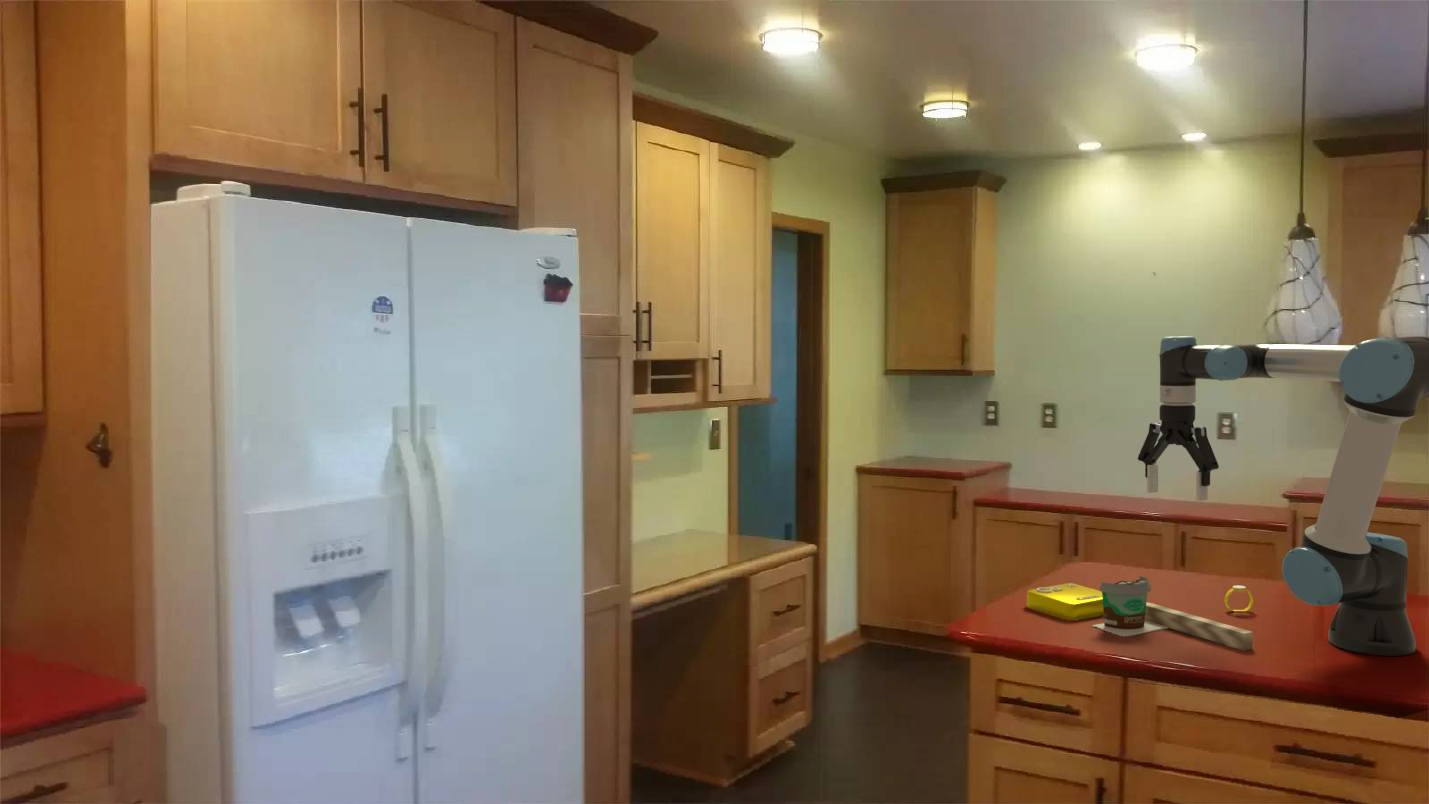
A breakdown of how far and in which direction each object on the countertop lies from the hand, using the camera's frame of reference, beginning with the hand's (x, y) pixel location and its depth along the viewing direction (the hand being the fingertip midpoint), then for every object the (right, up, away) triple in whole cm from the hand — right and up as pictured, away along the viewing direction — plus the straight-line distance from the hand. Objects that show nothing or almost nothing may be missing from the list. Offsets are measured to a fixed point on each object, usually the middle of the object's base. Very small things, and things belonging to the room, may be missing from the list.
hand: (1176, 496), depth 244 cm
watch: (+14, -27, 0) cm, 30 cm away
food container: (-15, -28, -11) cm, 33 cm away
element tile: (-23, -28, +5) cm, 36 cm away
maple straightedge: (-4, -28, -15) cm, 32 cm away
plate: (-15, -28, -11) cm, 33 cm away
